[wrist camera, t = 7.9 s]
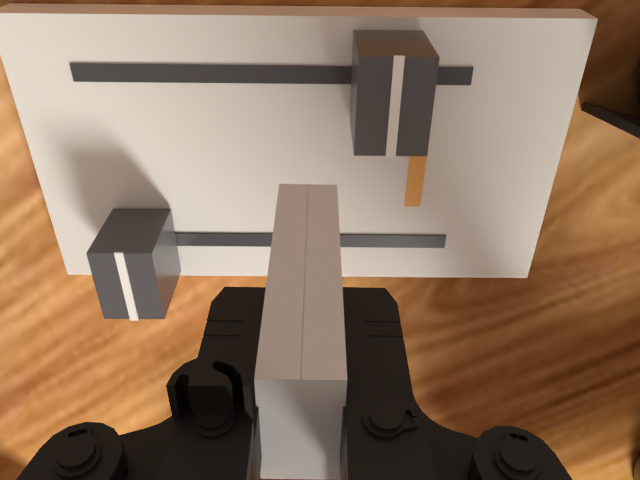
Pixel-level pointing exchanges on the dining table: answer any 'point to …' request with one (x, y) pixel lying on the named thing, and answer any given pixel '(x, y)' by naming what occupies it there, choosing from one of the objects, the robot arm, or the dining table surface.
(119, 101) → the mixing board
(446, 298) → the dining table surface
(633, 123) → the speaker
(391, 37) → the fader near
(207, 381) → the robot arm
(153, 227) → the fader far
